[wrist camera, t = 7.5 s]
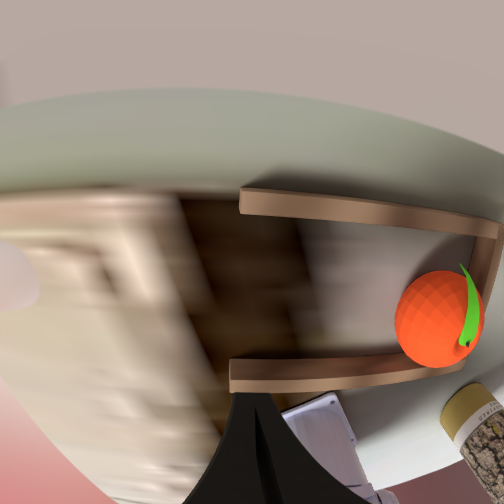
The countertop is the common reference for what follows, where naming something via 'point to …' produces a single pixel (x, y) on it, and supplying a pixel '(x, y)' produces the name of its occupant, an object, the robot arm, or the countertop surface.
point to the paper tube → (478, 435)
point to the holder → (375, 366)
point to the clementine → (439, 318)
